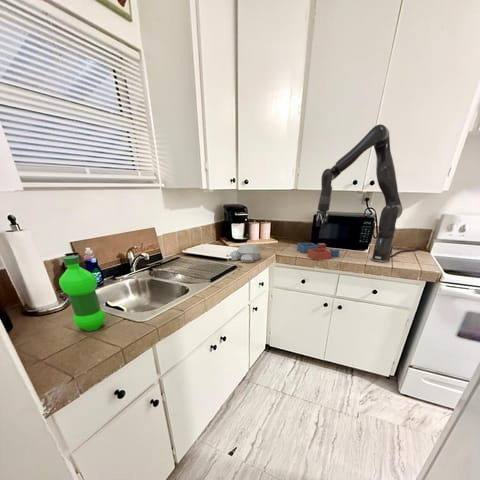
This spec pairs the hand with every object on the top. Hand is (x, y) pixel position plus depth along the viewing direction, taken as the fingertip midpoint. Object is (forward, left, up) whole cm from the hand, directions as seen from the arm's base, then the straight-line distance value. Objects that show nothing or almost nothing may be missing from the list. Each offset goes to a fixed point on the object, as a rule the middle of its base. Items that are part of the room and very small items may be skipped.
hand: (320, 227), depth 183 cm
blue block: (-3, +18, -16) cm, 24 cm away
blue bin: (+8, 0, -16) cm, 18 cm away
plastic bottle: (+130, +87, -16) cm, 158 cm away
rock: (+57, +12, -16) cm, 60 cm away
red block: (-3, 0, -16) cm, 16 cm away
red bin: (+8, +18, -16) cm, 26 cm away
